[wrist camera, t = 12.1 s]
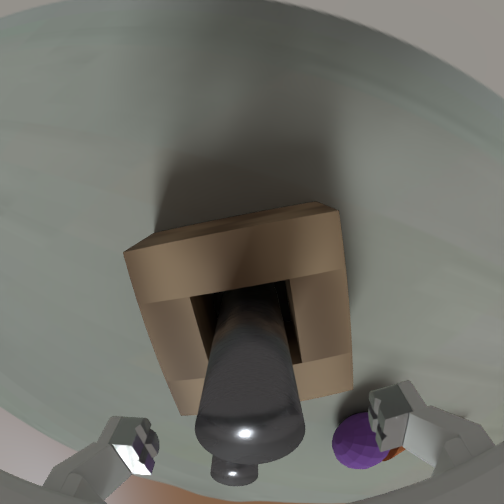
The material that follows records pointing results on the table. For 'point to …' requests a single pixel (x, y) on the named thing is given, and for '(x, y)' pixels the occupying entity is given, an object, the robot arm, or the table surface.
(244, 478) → the short pin
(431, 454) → the robot arm
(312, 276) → the hole block
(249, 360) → the long pin
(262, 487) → the table surface
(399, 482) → the table surface
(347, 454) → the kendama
